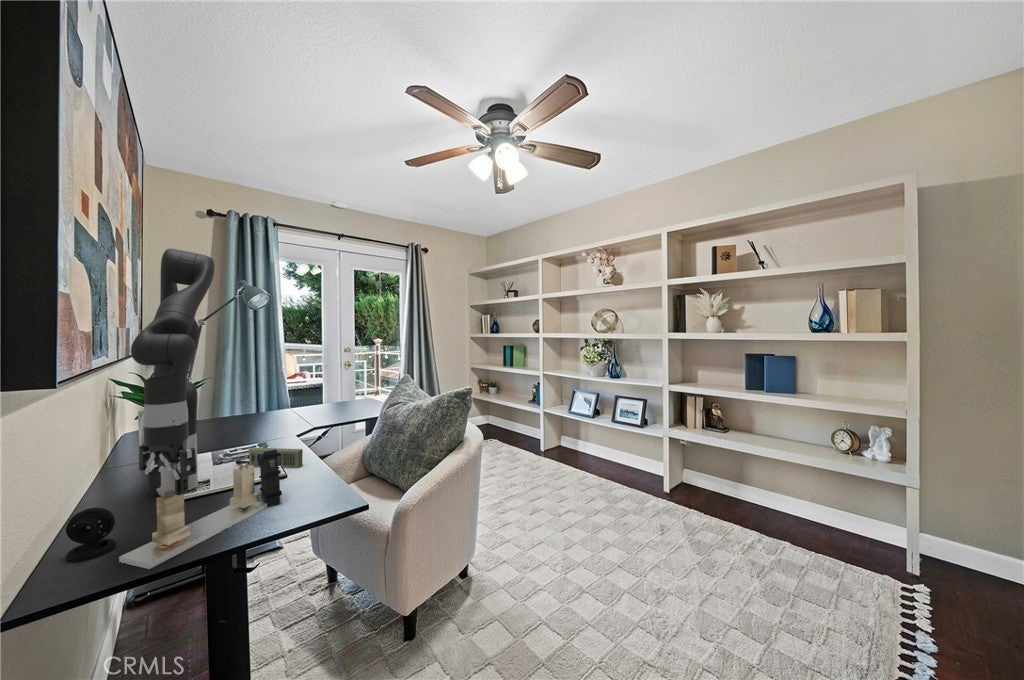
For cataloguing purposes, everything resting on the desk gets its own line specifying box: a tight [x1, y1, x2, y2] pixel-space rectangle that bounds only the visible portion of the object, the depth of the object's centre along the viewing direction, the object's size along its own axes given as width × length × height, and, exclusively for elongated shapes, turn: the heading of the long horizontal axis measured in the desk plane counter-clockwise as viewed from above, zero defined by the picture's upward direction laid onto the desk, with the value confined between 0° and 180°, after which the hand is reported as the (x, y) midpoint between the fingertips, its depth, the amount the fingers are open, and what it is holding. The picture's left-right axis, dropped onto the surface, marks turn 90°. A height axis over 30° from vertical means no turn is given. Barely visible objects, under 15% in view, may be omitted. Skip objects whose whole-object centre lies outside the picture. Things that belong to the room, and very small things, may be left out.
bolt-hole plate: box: [118, 463, 268, 570], centre depth 93 cm, size 9×28×13 cm, turn 165°
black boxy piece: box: [258, 449, 283, 508], centre depth 111 cm, size 4×13×15 cm, turn 42°
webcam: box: [65, 507, 117, 562], centre depth 84 cm, size 8×8×10 cm
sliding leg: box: [151, 490, 190, 545], centre depth 86 cm, size 5×4×12 cm
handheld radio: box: [235, 447, 303, 469], centre depth 137 cm, size 7×3×25 cm
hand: (168, 491), depth 86 cm, fingers open, 8 cm apart
